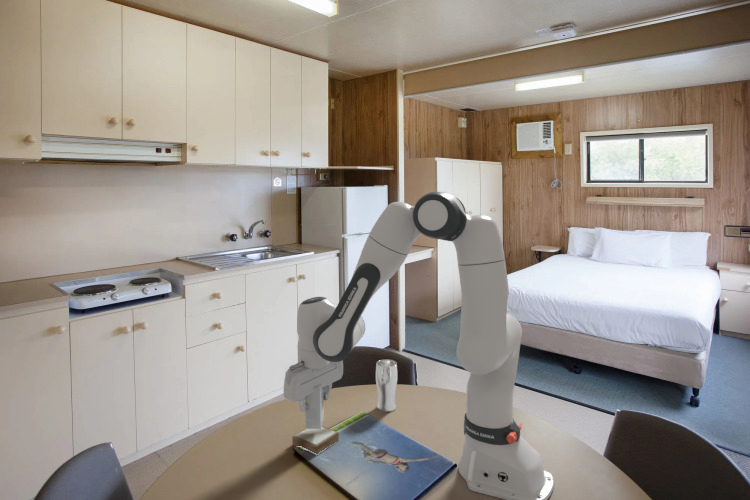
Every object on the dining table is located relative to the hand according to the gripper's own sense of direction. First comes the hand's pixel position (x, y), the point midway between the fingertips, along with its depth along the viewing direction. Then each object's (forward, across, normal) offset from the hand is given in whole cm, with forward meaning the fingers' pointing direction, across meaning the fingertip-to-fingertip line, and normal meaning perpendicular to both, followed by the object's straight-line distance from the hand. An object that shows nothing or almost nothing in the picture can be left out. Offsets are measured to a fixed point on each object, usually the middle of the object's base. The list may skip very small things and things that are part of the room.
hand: (314, 404), depth 129 cm
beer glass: (+11, +29, -4) cm, 31 cm away
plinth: (+12, 0, 0) cm, 12 cm away
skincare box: (+6, 0, 0) cm, 6 cm away
